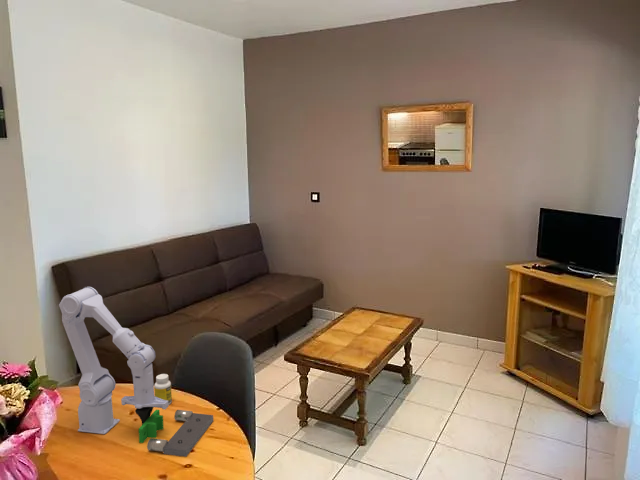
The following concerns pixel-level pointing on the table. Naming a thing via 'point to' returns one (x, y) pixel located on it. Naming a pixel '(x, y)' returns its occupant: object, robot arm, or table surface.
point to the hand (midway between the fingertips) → (146, 427)
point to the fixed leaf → (183, 434)
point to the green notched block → (151, 426)
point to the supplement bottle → (163, 388)
